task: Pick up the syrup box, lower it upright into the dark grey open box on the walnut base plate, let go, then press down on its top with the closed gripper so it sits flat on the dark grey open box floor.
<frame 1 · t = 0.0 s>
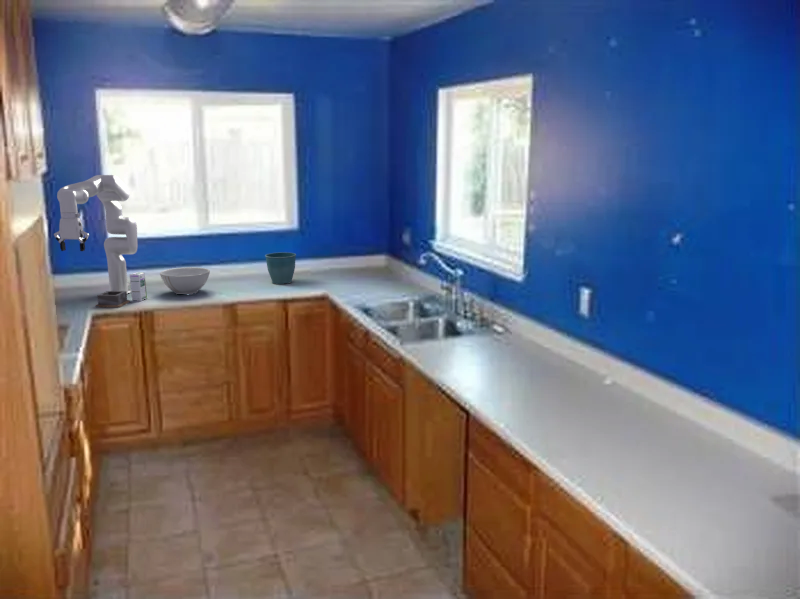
hand: (73, 250, 353), 31 cm above the worktop, tool pointing down, fingers open, 9 cm apart
syrup box: (139, 300, 388), on the worktop
dark grey open box: (113, 304, 377), on the worktop
decorative bowl: (186, 293, 406), on the worktop
flower pot: (281, 282, 434), on the worktop
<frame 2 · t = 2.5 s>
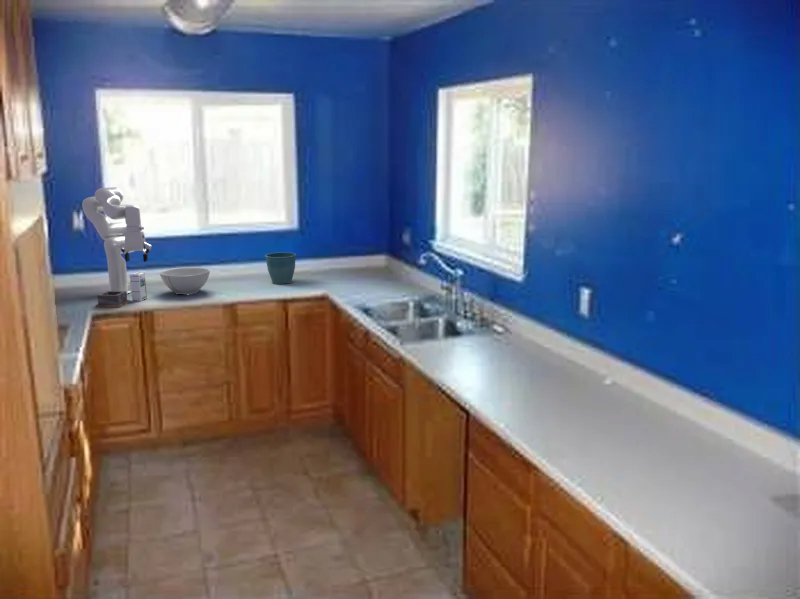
hand: (136, 261, 383), 21 cm above the worktop, tool pointing down, fingers open, 9 cm apart
nothing on the worktop moved.
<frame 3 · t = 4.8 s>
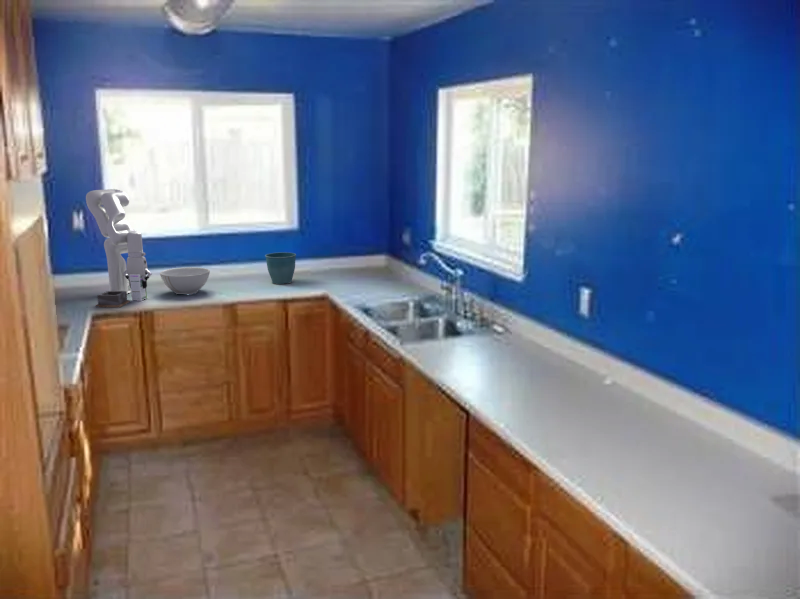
hand: (138, 287, 387), 7 cm above the worktop, tool pointing down, fingers closed on syrup box, 6 cm apart
syrup box: (139, 300, 388), on the worktop, touching gripper
everything else where it was.
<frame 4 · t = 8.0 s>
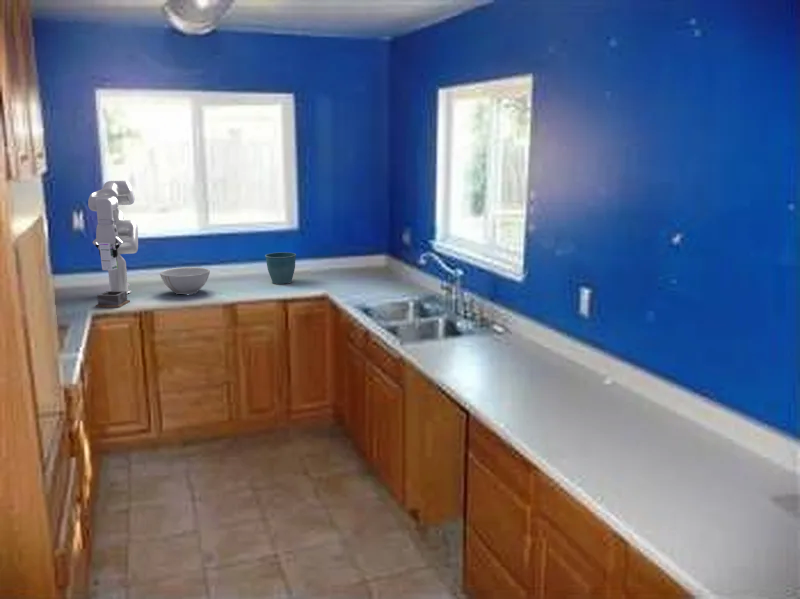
hand: (108, 256, 372), 25 cm above the worktop, tool pointing down, fingers closed on syrup box, 6 cm apart
syrup box: (110, 269, 373), point 18 cm above the worktop, touching gripper
everything else where it was.
when the fingers open (8 cm above the worktop, at t = 11.6 s): syrup box stays where it is, resting on dark grey open box.
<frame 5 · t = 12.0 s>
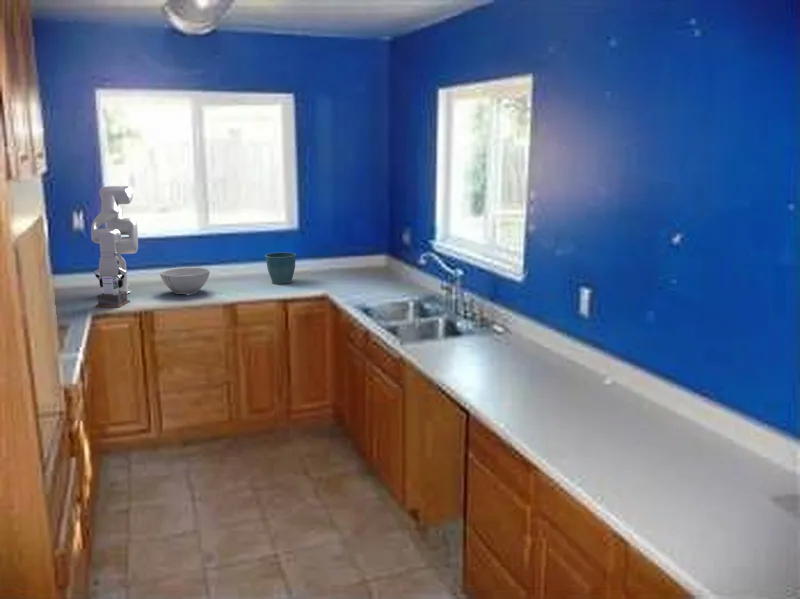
hand: (111, 287, 375), 9 cm above the worktop, tool pointing down, fingers open, 9 cm apart
syrup box: (112, 302, 377), point 1 cm above the worktop, touching dark grey open box
everything else where it was.
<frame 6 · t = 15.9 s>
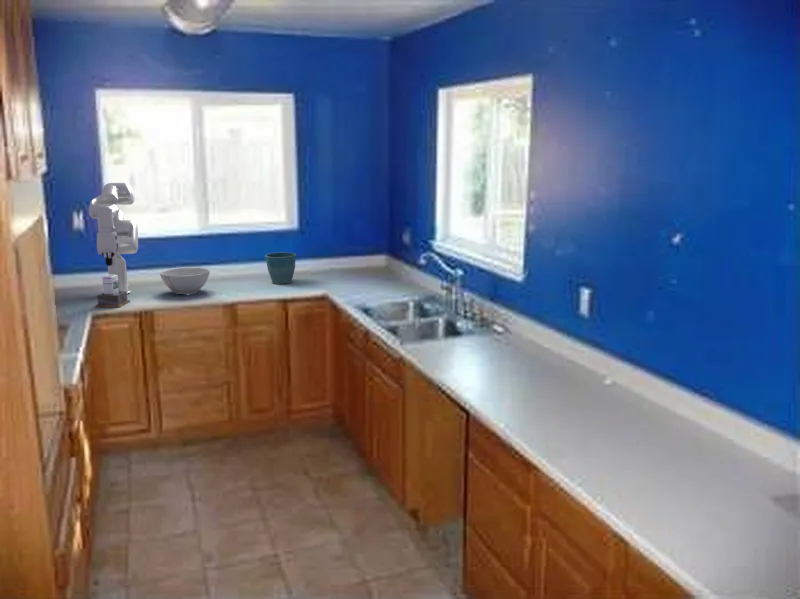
hand: (109, 265, 372), 21 cm above the worktop, tool pointing down, fingers closed
nothing on the worktop moved.
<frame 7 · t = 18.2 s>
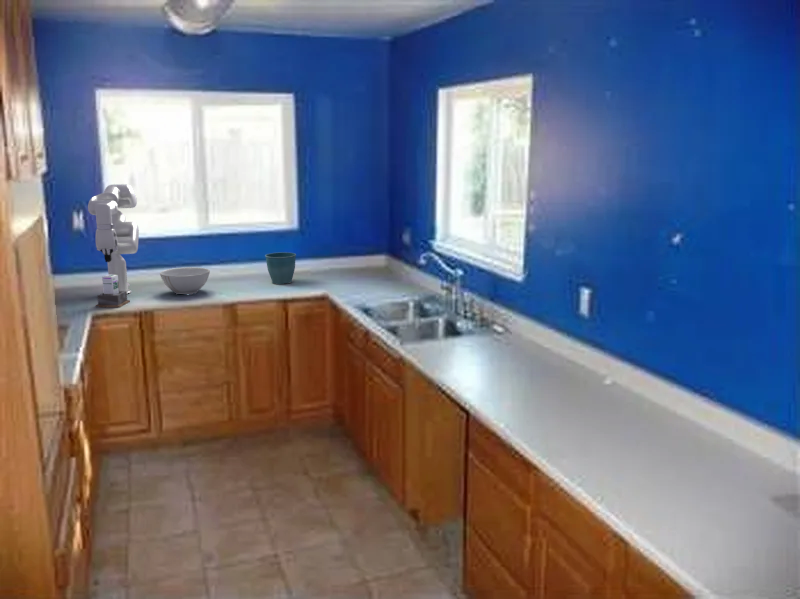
hand: (108, 261, 377), 22 cm above the worktop, tool pointing down, fingers closed
nothing on the worktop moved.
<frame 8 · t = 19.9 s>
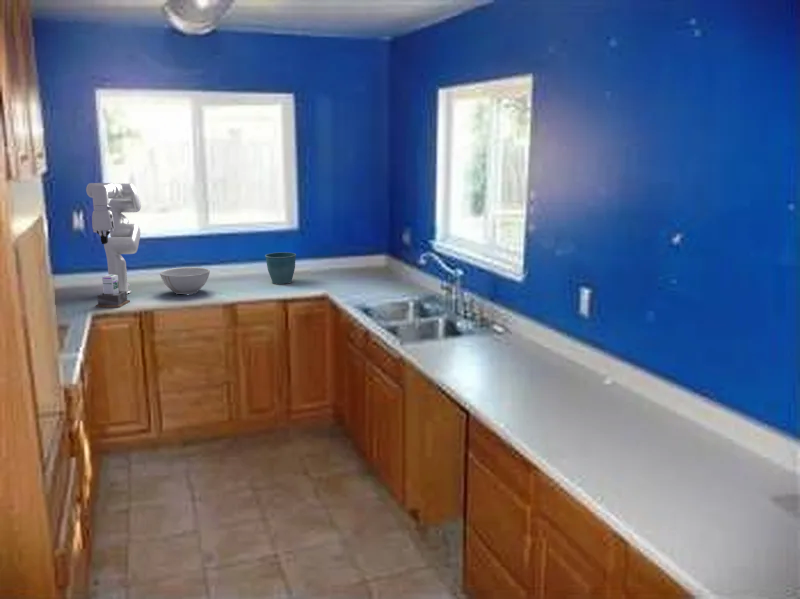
hand: (104, 243, 377), 31 cm above the worktop, tool pointing down, fingers closed
nothing on the worktop moved.
at the end: syrup box 0.2 cm off-centre on the dark grey open box, point 0.8 cm above the dark grey open box's base; syrup box tilted 0°; the gripper is holding nothing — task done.
